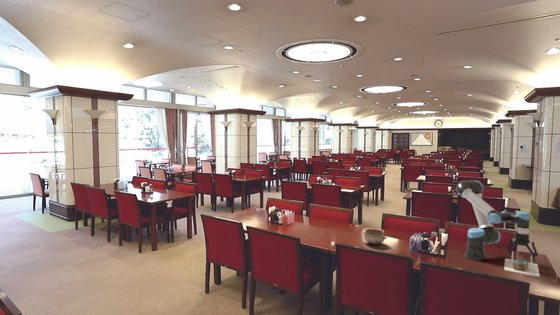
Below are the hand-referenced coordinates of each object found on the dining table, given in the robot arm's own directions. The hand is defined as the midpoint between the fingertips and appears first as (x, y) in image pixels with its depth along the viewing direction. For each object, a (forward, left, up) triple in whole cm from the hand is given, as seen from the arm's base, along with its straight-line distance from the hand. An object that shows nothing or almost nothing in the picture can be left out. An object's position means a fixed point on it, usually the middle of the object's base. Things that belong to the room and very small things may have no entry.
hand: (521, 262), depth 230 cm
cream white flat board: (+1, +1, -5) cm, 5 cm away
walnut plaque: (+3, +2, -2) cm, 4 cm away
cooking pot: (-78, +76, -5) cm, 109 cm away
